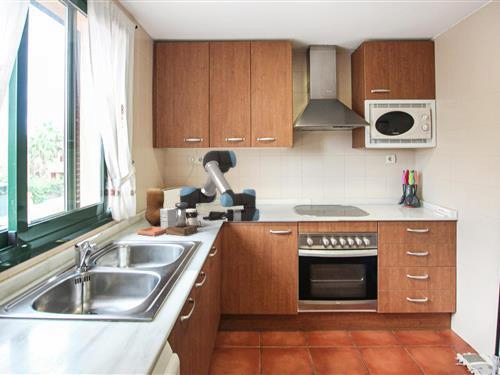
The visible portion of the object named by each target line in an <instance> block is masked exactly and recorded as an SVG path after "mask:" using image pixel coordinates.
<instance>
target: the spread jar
mask: <svg viewBox="0 0 500 375" xmlns="http://www.w3.org/2000/svg"><path fill="white" fill-rule="evenodd" d="M196 209H197V208H196ZM196 209H186V225H197V228H198V227H199V225H200V227H201V228H203V227H204V226H205V223H204V220H198V221H197V216H199V212H198V211H197V212H198V213H197V212H196Z"/></svg>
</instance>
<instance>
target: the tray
mask: <svg viewBox="0 0 500 375" xmlns="http://www.w3.org/2000/svg"><path fill="white" fill-rule="evenodd" d="M164 233H165V234H166V228H161V226H160V227H159V226H158V227H157V226H149V227H145V228H141V229H138V230H137V236H138V235H139V236H145V237H153V236H155V237H158V236H161V235H165V234H164Z"/></svg>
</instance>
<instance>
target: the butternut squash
mask: <svg viewBox="0 0 500 375" xmlns="http://www.w3.org/2000/svg"><path fill="white" fill-rule="evenodd" d="M164 203H165V193H164V190H163V189H161V188H158V187H157V188H156V187H151V188H148V189H147V191H146V209H145V214H144V218H145V220H146V222H148V224H150V225H152V227H157V226H158V227H159V226H161V216H160V209H164V208H165V207H164Z"/></svg>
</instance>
